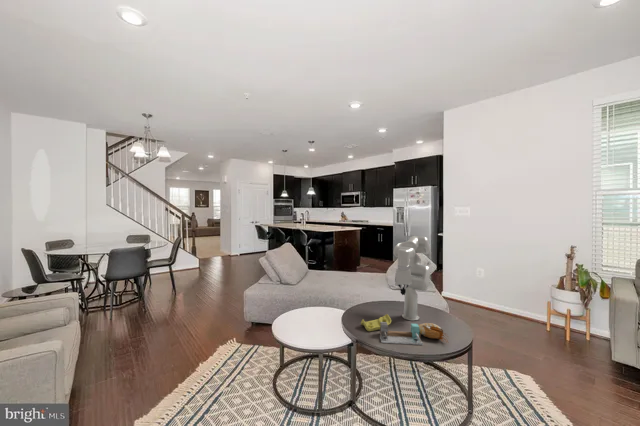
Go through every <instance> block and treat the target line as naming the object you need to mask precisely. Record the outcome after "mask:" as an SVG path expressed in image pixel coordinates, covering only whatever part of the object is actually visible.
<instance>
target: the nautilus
mask: <svg viewBox="0 0 640 426" xmlns="http://www.w3.org/2000/svg"><path fill="white" fill-rule="evenodd" d="M418 326H419V333H420V335H422V336H424V337H426V338H429V339H437V340H440V341H443V340H444V341H445V343H448V342H449V341H448V339H447V338H449V336H448V335H446V333H444V330H443V328H442V327H440V326H439V325H437V324H435V323H431V322H430V323H429V322H424V323H423V322H422V323H420V324H418Z"/></svg>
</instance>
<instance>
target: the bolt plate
mask: <svg viewBox="0 0 640 426" xmlns="http://www.w3.org/2000/svg"><path fill="white" fill-rule="evenodd" d="M379 339H380V342H381V343H382V344H396V345H397V344H398V345H399V344H400V345H414V346H416V345H417V346H424V343H423V341H422V339H421V338H420V339H418V340H417V337H400V336H387V337H386V338H385V336H382V335H379Z"/></svg>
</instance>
